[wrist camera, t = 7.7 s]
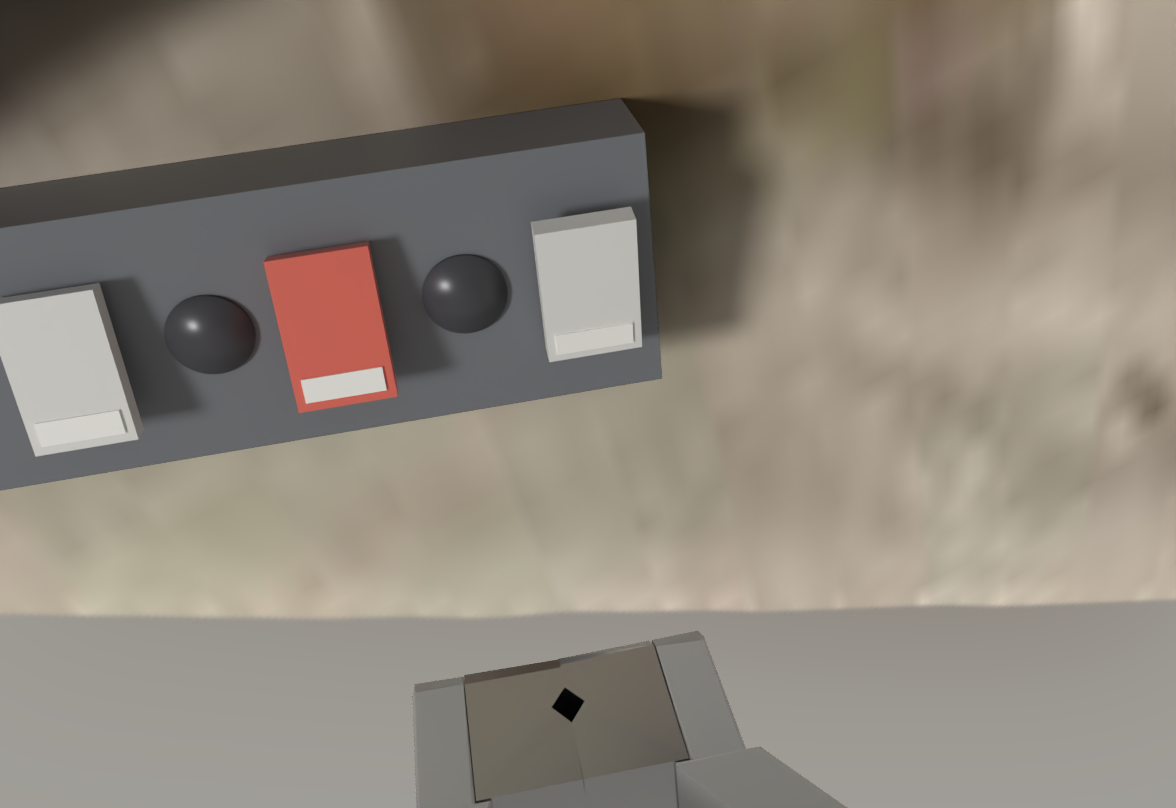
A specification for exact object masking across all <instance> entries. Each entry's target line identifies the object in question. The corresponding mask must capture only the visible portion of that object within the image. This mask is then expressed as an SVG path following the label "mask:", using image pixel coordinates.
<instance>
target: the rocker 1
mask: <svg viewBox="0 0 1176 808" xmlns="http://www.w3.org/2000/svg"><path fill="white" fill-rule="evenodd" d="M0 357H1V360H2V362H3V365H4V368H5V371H6V374H7V377H8V380H9V382H10V385H11V388H12V391H13V394H14V397H15V400H16V402H17V405H18V408H19V411H20V414H21V417H22V419H23V422H24V425H25V428H26V431H27V434H28V437H29V439H30V442H31V445H32V448H33V451H34V454H35V457H37V456H43V455H49V454H54V453H60V452H66V451H72V450H78V449H84V448H90V447H96V446H102V445H108V444H114V443H120V442H126V441H132V440H138V439H139V438H140V436H141V434H142V433H143V431H144V427H143V424H142V421H141V418H140V414H139V411H138V408H137V405H136V401H135V398H134V395H133V391H132V388H131V385H130V382H129V378H128V375H127V372H126V368H125V365H124V362H123V359H122V355H121V352H120V349H119V346H118V342H117V339H116V336H115V332H114V329H113V326H112V323H111V319H110V316H109V313H108V309H107V306H106V303H105V300H104V296H103V293H102V290H101V287H100V283H94V284H88V285H82V286H75V287H69V288H62V289H56V290H49V291H43V292H36V293H30V294H23V295H17V296H10V297H4V298H0Z"/></svg>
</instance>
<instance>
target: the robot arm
mask: <svg viewBox="0 0 1176 808" xmlns="http://www.w3.org/2000/svg"><path fill="white" fill-rule="evenodd" d="M412 701H413V727H414V752H415V777H416V803H417V808H847V807H845V806H844V805H843V804H841V803H840V802H838V801H837V800H836V799H834V798H832V797H831V796H830V795H828V794H827V793H825V792H824V791H823V790H821V789H820V788H818V787H817V786H816V785H814V784H813V783H811V782H810V781H809V780H807V779H806V778H804V777H803V776H801V775H800V774H799V773H797V772H795V771H794V770H793V769H791V768H790V767H789V766H787V765H786V764H784V763H783V762H781V761H780V760H779V759H777V758H776V757H774V756H773V755H772V754H770V753H769V752H767V751H766V750H764V749H763V748H762V747H755V748H750V749H746V748H745V745H744V743H743V740H742V737H741V735H740V732H739V729H738V727H737V724H736V721H735V718H734V716H733V713H732V710H731V708H730V705H729V702H728V700H727V697H726V695H725V692H724V689H723V687H722V684H721V681H720V679H719V676H718V673H717V670H716V668H715V665H714V663H713V660H712V657H711V654H710V652H709V649H708V647H707V644H706V641H705V638H704V637H703V635H701V633H699V632H698V631H695V632H689V633H684V634H679V635H675V636H669V637H665V638H660V639H655V640H652V642H650V641H646V642H641V643H636V644H631V645H626V646H621V647H616V648H611V649H606V650H601V651H596V652H591V653H586V654H581V655H576V656H571V657H566V658H561V659H558V660H553V661H547V662H542V663H535V664H529V665H523V666H517V667H511V668H506V669H499V670H493V671H487V672H481V673H475V674H470V675H465V676H464V677H458V678H452V679H445V680H439V681H433V682H426V683H420V684H415V687H414V691H413V696H412Z"/></svg>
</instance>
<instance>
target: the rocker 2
mask: <svg viewBox="0 0 1176 808" xmlns="http://www.w3.org/2000/svg"><path fill="white" fill-rule="evenodd" d="M531 228H532V237H533V245H534V253H535V262H536V270H537V279H538V287H539V295H540V304H541V312H542V321H543V329H544V337H545V346H546V351H547V355H548V359H549V362H554V361H560V360H566V359H572V358H578V357H584V356H590V355H596V354H602V353H608V352H614V351H620V350H626V349H632V348H638V347H642V332H641V311H640V289H639V268H638V247H637V225H636V218H635V215H634V213H633V210H632V208H631V207H624V208H618V209H611V210H605V211H598V212H592V213H586V214H579V215H573V216H566V217H560V218H553V219H547V220H540V221H534V222H531Z"/></svg>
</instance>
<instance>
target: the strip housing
mask: <svg viewBox="0 0 1176 808" xmlns="http://www.w3.org/2000/svg"><path fill="white" fill-rule="evenodd" d="M624 207H631V208H632V210H633V213H634V215H635V218H636V225H637V247H638V268H639V289H640V311H641V332H642V347H638V348H632V349H626V350H620V351H614V352H608V353H602V354H596V355H590V356H584V357H578V358H572V359H566V360H560V361H554V362H549V359H548V355H547V351H546V346H545V337H544V329H543V321H542V312H541V304H540V295H539V287H538V279H537V270H536V262H535V253H534V245H533V237H532V228H531V222H534V221H540V220H547V219H553V218H560V217H566V216H573V215H579V214H586V213H592V212H598V211H605V210H611V209H618V208H624ZM366 241H369V244H370V249H371V254H372V259H373V265H374V270H375V275H376V280H377V285H378V290H379V295H380V300H381V305H382V310H383V315H384V320H385V325H386V330H387V335H388V340H389V345H390V350H391V355H392V360H393V365H394V370H395V375H396V380H397V385H398V397H393V398H387V399H381V400H375V401H369V402H363V403H357V404H351V405H345V406H339V407H333V408H327V409H321V410H315V411H309V412H303V413H299V412H298V408H297V403H296V399H295V395H294V391H293V386H292V382H291V378H290V374H289V369H288V365H287V361H286V357H285V352H284V348H283V344H282V340H281V335H280V331H279V327H278V322H277V318H276V314H275V310H274V305H273V301H272V297H271V293H270V288H269V284H268V280H267V276H266V271H265V267H264V263H263V262H264V260H265V259H266V257H269V256H275V255H282V254H288V253H295V252H301V251H308V250H314V249H321V248H327V247H334V246H340V245H347V244H353V243H360V242H366ZM94 283H100V287H101V290H102V293H103V296H104V300H105V303H106V306H107V309H108V313H109V316H110V319H111V323H112V326H113V329H114V332H115V336H116V339H117V342H118V346H119V349H120V352H121V355H122V359H123V362H124V365H125V368H126V372H127V375H128V378H129V382H130V385H131V388H132V391H133V395H134V398H135V401H136V405H137V408H138V411H139V414H140V418H141V421H142V424H143V427H144V431H143V433H142V434H141V436H140V438H139V439H138V440H132V441H126V442H120V443H114V444H108V445H102V446H96V447H90V448H84V449H78V450H72V451H66V452H60V453H54V454H49V455H43V456H37V457H35V454H34V451H33V448H32V445H31V442H30V439H29V437H28V434H27V431H26V428H25V425H24V422H23V419H22V417H21V414H20V411H19V408H18V405H17V402H16V400H15V397H14V394H13V391H12V388H11V385H10V382H9V380H8V377H7V374H6V371H5V368H4V365H3V362H2V360H1V357H0V490H6V489H12V488H18V487H24V486H30V485H36V484H42V483H48V482H54V481H59V480H65V479H71V478H77V477H83V476H89V475H95V474H101V473H107V472H113V471H118V470H124V469H130V468H136V467H142V466H148V465H154V464H160V463H166V462H172V461H177V460H183V459H189V458H195V457H201V456H207V455H213V454H219V453H225V452H231V451H236V450H242V449H248V448H254V447H260V446H266V445H272V444H278V443H284V442H290V441H295V440H301V439H307V438H313V437H319V436H325V435H331V434H337V433H343V432H349V431H354V430H360V429H366V428H372V427H378V426H384V425H390V424H396V423H402V422H408V421H414V420H419V419H425V418H431V417H437V416H443V415H449V414H455V413H461V412H467V411H473V410H478V409H484V408H490V407H496V406H502V405H508V404H514V403H520V402H526V401H532V400H537V399H543V398H549V397H555V396H561V395H567V394H573V393H579V392H585V391H591V390H596V389H602V388H608V387H614V386H620V385H626V384H632V383H638V382H644V381H650V380H655V379H661V378H662V369H661V355H660V341H659V327H658V313H657V298H656V284H655V270H654V256H653V242H652V228H651V213H650V199H649V185H648V171H647V157H646V143H645V132H644V131H643V129H642V128H641V126H640V125H639V124H638V122H637V121H636V119H635V118H634V116H633V115H632V114H631V112H630V111H629V109H628V108H627V106H626V105H625V104H624V102H623V101H622V99H621V98H618V99H611V100H604V101H597V102H590V103H584V104H577V105H570V106H563V107H556V108H549V109H542V110H535V111H528V112H522V113H515V114H508V115H501V116H494V117H487V118H480V119H473V120H467V121H460V122H453V123H446V124H439V125H432V126H425V127H418V128H412V129H405V130H398V131H391V132H384V133H377V134H370V135H363V136H356V137H350V138H343V139H336V140H329V141H322V142H315V143H308V144H301V145H295V146H288V147H281V148H274V149H267V150H260V151H253V152H246V153H239V154H233V155H226V156H219V157H212V158H205V159H198V160H191V161H184V162H178V163H171V164H164V165H157V166H150V167H143V168H136V169H129V170H122V171H116V172H109V173H102V174H95V175H88V176H81V177H74V178H67V179H61V180H54V181H47V182H40V183H33V184H26V185H19V186H12V187H5V188H0V298H4V297H10V296H17V295H23V294H30V293H36V292H43V291H49V290H56V289H62V288H69V287H75V286H82V285H88V284H94Z"/></svg>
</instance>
